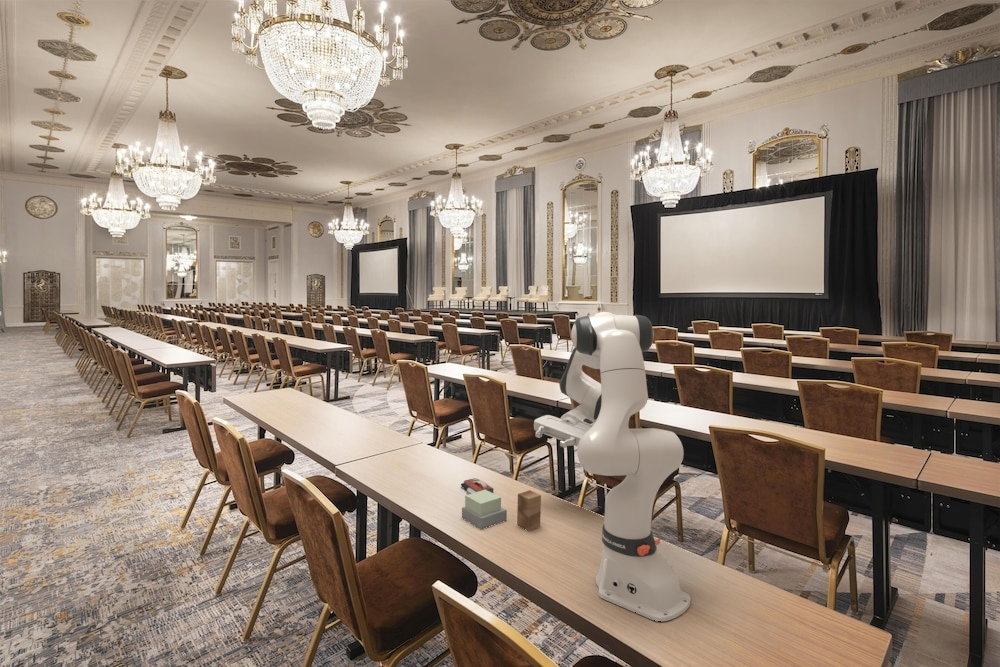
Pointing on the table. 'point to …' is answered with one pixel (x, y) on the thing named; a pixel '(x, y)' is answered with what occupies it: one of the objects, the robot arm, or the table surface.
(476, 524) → the tower base block
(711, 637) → the table surface
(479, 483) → the walkie-talkie
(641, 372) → the robot arm
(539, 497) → the walnut pillar
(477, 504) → the tower top block
